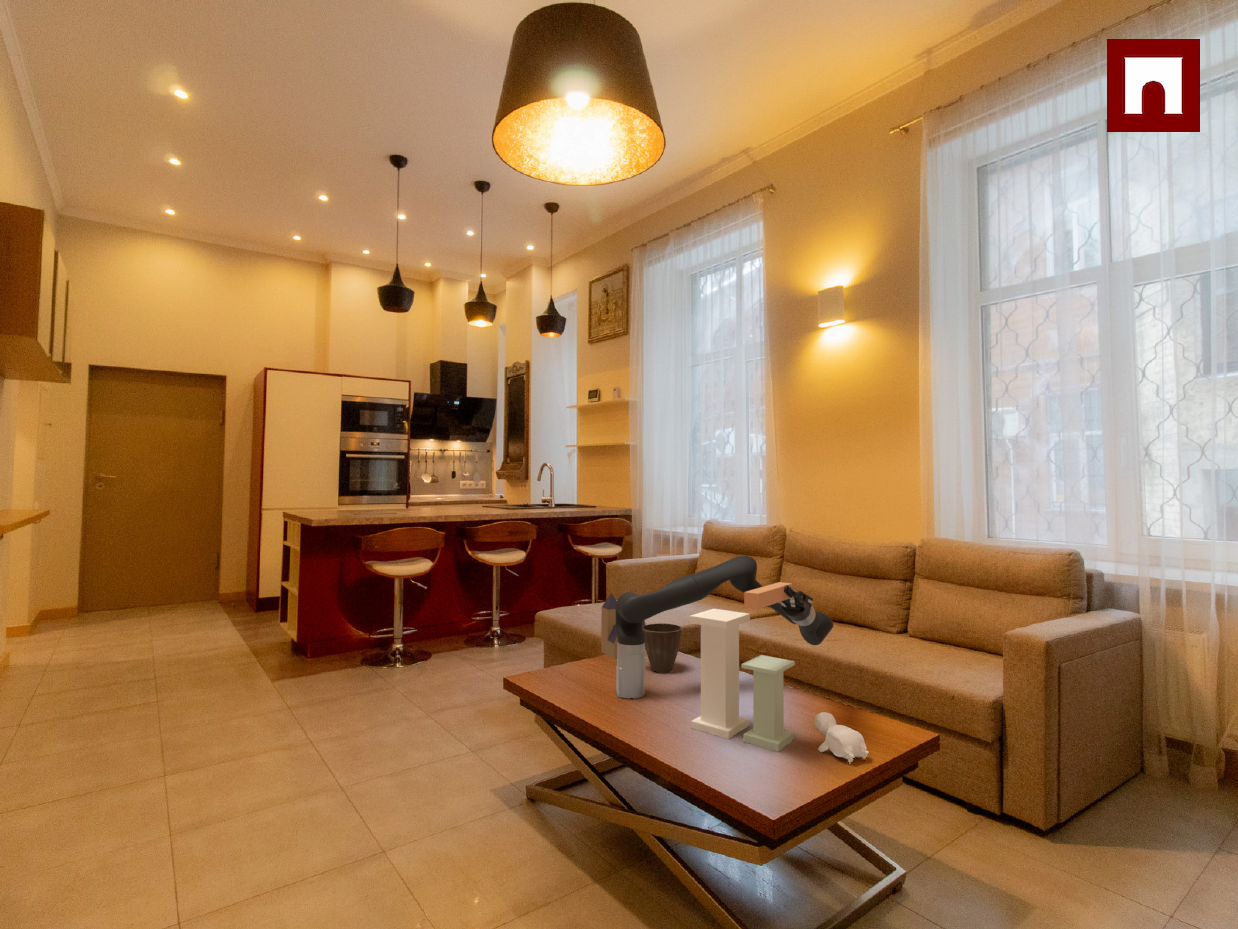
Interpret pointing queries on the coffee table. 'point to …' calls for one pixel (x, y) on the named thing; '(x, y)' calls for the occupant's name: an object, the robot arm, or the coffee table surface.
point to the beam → (765, 595)
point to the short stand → (768, 703)
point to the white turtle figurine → (840, 738)
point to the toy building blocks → (609, 628)
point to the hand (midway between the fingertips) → (778, 587)
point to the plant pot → (662, 645)
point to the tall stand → (720, 672)
